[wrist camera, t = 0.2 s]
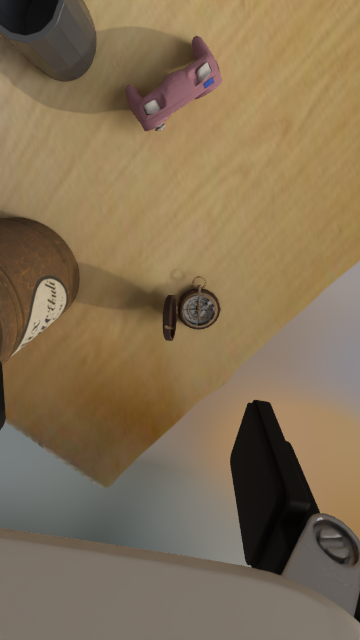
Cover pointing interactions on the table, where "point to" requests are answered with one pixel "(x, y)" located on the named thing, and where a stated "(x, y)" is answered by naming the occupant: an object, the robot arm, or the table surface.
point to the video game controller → (176, 89)
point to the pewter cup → (51, 34)
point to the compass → (190, 310)
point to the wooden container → (32, 281)
